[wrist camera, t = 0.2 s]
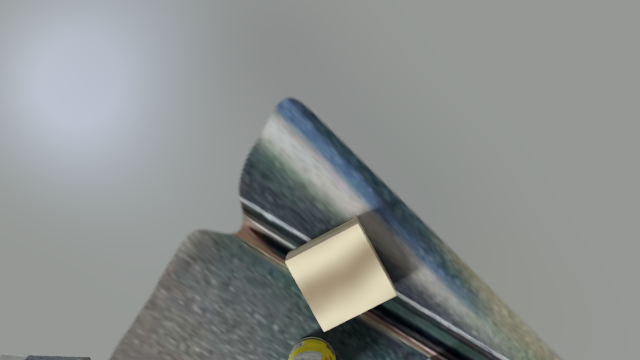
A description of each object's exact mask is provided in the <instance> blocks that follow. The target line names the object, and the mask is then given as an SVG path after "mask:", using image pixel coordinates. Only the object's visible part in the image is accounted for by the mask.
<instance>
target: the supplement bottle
mask: <svg viewBox="0 0 640 360" xmlns="http://www.w3.org/2000/svg"><path fill="white" fill-rule="evenodd" d="M289 360H336V356H335V352H334V350H333V348H332V347H331V346H330V344H329V343H327V342H326V341H325V340H323V339H320V338H317V337H308V338H304V339H302V340H300V341H298V342H297V343H296V344H295V345H294V346H293V348H292V350H291V352H290V355H289Z"/></svg>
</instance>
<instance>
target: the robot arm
mask: <svg viewBox="0 0 640 360" xmlns="http://www.w3.org/2000/svg"><path fill="white" fill-rule="evenodd" d="M0 360H91V359H90V357H62V356H61V357H60V356H33V355H1V356H0Z"/></svg>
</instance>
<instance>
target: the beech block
mask: <svg viewBox="0 0 640 360" xmlns="http://www.w3.org/2000/svg"><path fill="white" fill-rule="evenodd" d="M285 263H286V265H287V267H288V268H289V270H290V272H291V274H292V276H293V277H294V279H295V281H296V283H297V285H298V286H299V288H300V290H301V292H302V294H303V295H304V297H305V299H306V301H307V303H308V304H309V306H310V308H311V310H312V311H313V313H314V315H315V317H316V319H317V320H318V322H319V324H320V326H321V328H322V329H323V331H324V332H325V331H327V330H329V329H331V328H333V327H335V326H337V325H339V324H341V323H343V322H345V321H347V320H349V319H351V318H353V317H355V316H357V315H359V314H361V313H363V312H365V311H367V310H369V309H371V308H373V307H375V306H377V305H379V304H381V303H383V302H385V301H387V300H389V299H391V298H393V297H395V296H397V294H396V291H395V288H394V285H393V283H392V281H391V279H390V277H389V275H388V273H387V272H386V270H385V268H384V266H383V264H382V262H381V260H380V259H379V257H378V255H377V253H376V251H375V249H374V247H373V246H372V244H371V242H370V240H369V238H368V236H367V234H366V233H365V231H364V229H363V227H362V225H361V223H360V221H359V220H358V218H357V217H355V218H353V219H351V220H350V221H348V222H346V223H344V224H342V225H340V226H338V227H336V228H334V229H332V230H330V231H328V232H327V233H325V234H323V235H321V236H319V237H317V238H315V239H313V240H311V241H309V242H307V243H306V244H304V245H302V246H300V247H298V248H296V249H294V250H292V251H290V252H288V254H287V257H286V260H285Z"/></svg>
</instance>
